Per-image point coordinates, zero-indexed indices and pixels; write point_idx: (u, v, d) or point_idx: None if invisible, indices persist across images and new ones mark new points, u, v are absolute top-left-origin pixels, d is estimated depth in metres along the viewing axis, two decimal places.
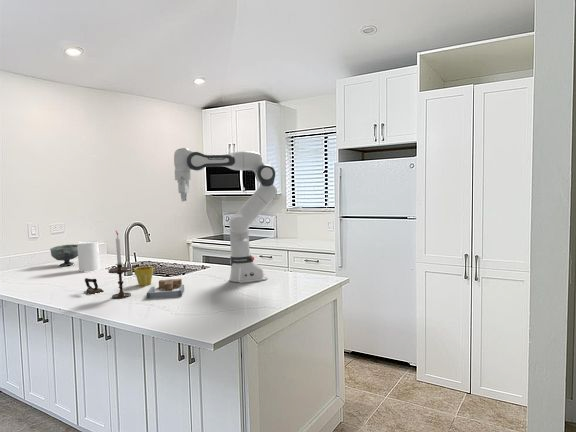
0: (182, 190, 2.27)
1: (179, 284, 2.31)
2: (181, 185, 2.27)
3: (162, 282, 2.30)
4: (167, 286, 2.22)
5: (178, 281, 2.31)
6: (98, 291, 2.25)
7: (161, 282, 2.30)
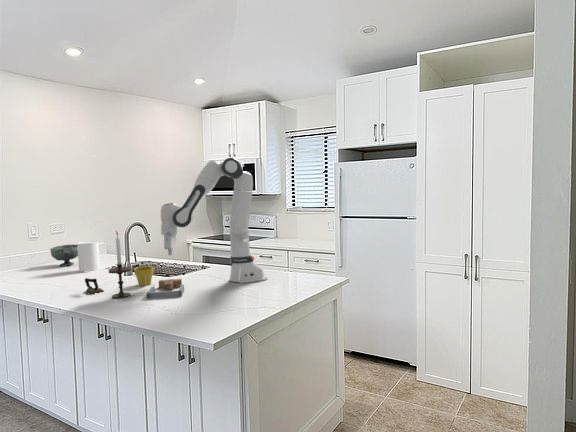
0: (168, 247, 2.29)
1: (179, 284, 2.31)
2: (167, 241, 2.29)
3: (162, 282, 2.30)
4: (167, 286, 2.22)
5: (178, 281, 2.31)
6: (98, 291, 2.25)
7: (161, 282, 2.30)
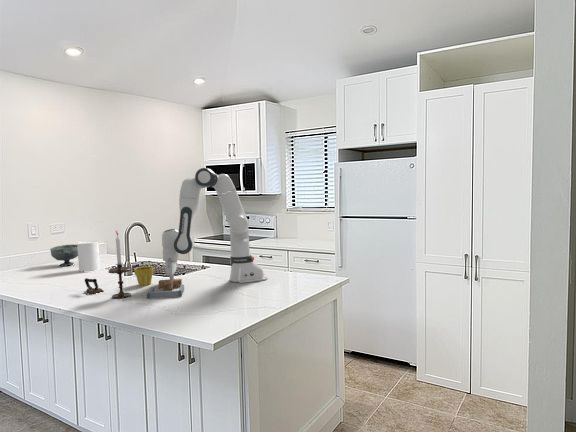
0: (169, 274, 2.30)
1: (179, 284, 2.31)
2: (168, 268, 2.30)
3: (162, 282, 2.30)
4: (167, 286, 2.22)
5: (178, 281, 2.31)
6: (98, 291, 2.25)
7: (161, 282, 2.30)
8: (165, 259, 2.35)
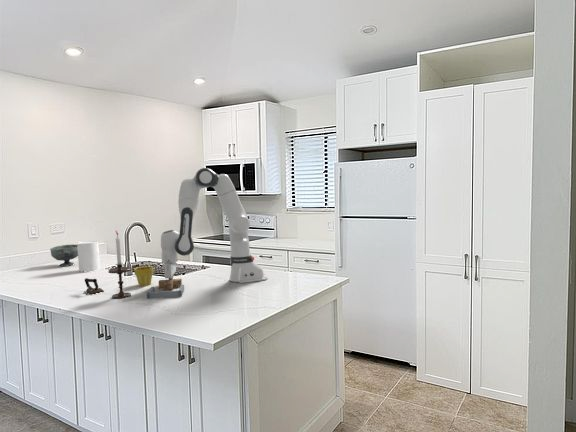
0: (168, 276, 2.26)
1: (179, 284, 2.31)
2: (167, 270, 2.26)
3: (162, 282, 2.30)
4: (167, 286, 2.22)
5: (178, 281, 2.31)
6: (98, 291, 2.25)
7: (161, 282, 2.30)
8: (164, 261, 2.31)
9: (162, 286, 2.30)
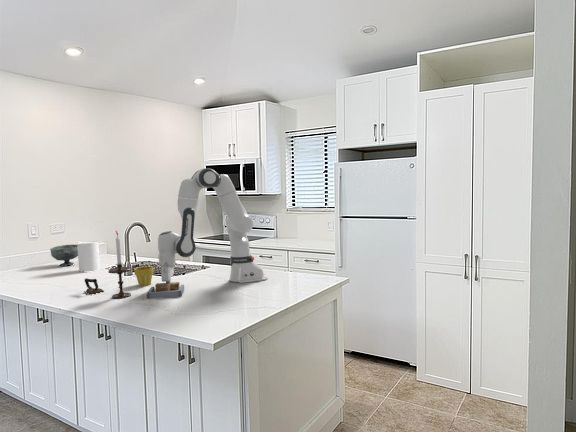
0: (165, 279, 2.17)
1: (176, 288, 2.22)
2: (164, 273, 2.17)
3: (159, 285, 2.21)
4: (164, 290, 2.14)
5: (175, 284, 2.22)
6: (98, 291, 2.25)
7: (158, 285, 2.21)
8: (161, 263, 2.22)
9: (159, 290, 2.21)
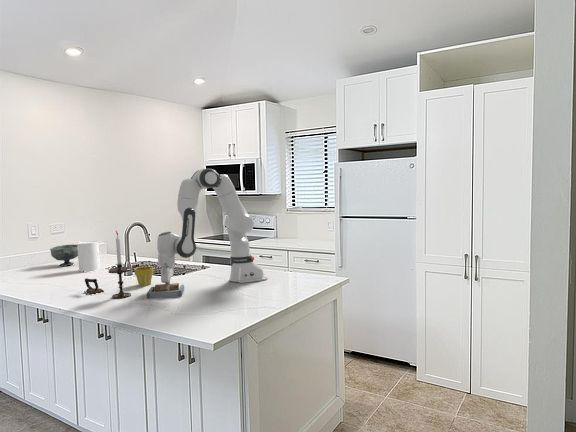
0: (165, 280, 2.14)
1: (176, 289, 2.20)
2: (164, 274, 2.14)
3: (158, 287, 2.18)
4: None
5: (175, 286, 2.20)
6: (99, 291, 2.25)
7: (157, 287, 2.18)
8: (160, 264, 2.20)
9: (158, 291, 2.19)
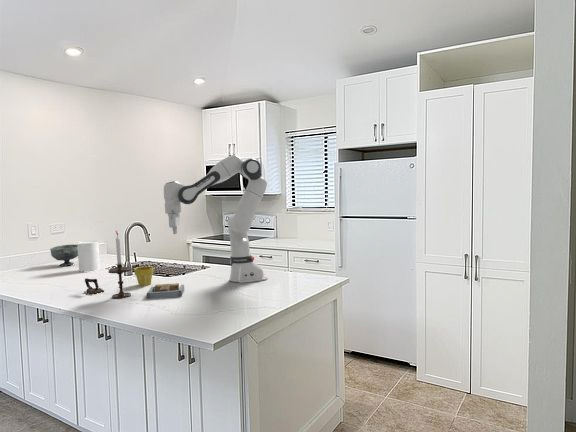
0: (172, 225, 2.26)
1: (176, 289, 2.20)
2: (171, 219, 2.26)
3: (158, 287, 2.18)
4: None
5: (175, 286, 2.19)
6: (99, 291, 2.24)
7: (157, 287, 2.18)
8: (168, 211, 2.32)
9: (158, 291, 2.18)
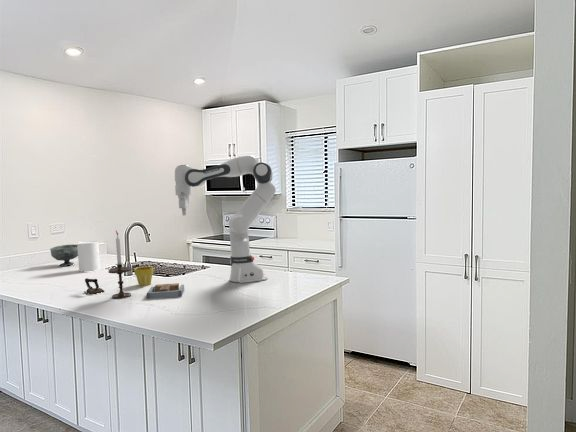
0: (182, 206, 2.37)
1: (176, 289, 2.20)
2: (181, 200, 2.37)
3: (158, 287, 2.18)
4: None
5: (175, 286, 2.19)
6: (99, 291, 2.24)
7: (157, 287, 2.18)
8: (178, 193, 2.43)
9: (158, 291, 2.18)
